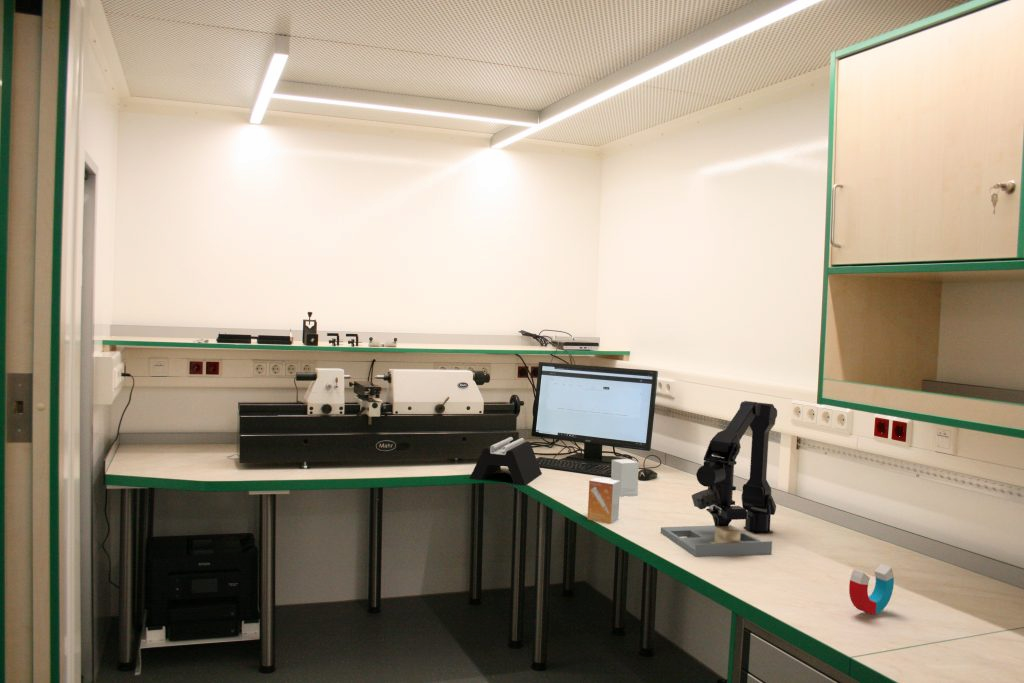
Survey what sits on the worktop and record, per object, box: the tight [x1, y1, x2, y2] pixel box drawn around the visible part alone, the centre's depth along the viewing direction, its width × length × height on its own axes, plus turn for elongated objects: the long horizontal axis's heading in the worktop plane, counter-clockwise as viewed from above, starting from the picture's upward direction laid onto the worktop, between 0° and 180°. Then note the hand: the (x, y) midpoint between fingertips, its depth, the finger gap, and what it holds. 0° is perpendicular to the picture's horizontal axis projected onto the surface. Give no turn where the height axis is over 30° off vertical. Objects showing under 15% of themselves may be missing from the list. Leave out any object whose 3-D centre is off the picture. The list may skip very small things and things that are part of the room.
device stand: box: [469, 436, 543, 486], centre depth 292 cm, size 22×22×15 cm
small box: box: [587, 477, 620, 525], centre depth 237 cm, size 8×6×13 cm
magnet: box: [848, 563, 895, 615], centre depth 169 cm, size 12×3×10 cm, turn 118°
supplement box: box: [610, 458, 640, 498], centre depth 273 cm, size 7×7×13 cm
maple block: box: [714, 525, 742, 543], centre depth 210 cm, size 5×5×4 cm
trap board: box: [660, 524, 773, 558], centre depth 218 cm, size 22×23×4 cm
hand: (719, 536), depth 214 cm, fingers closed
